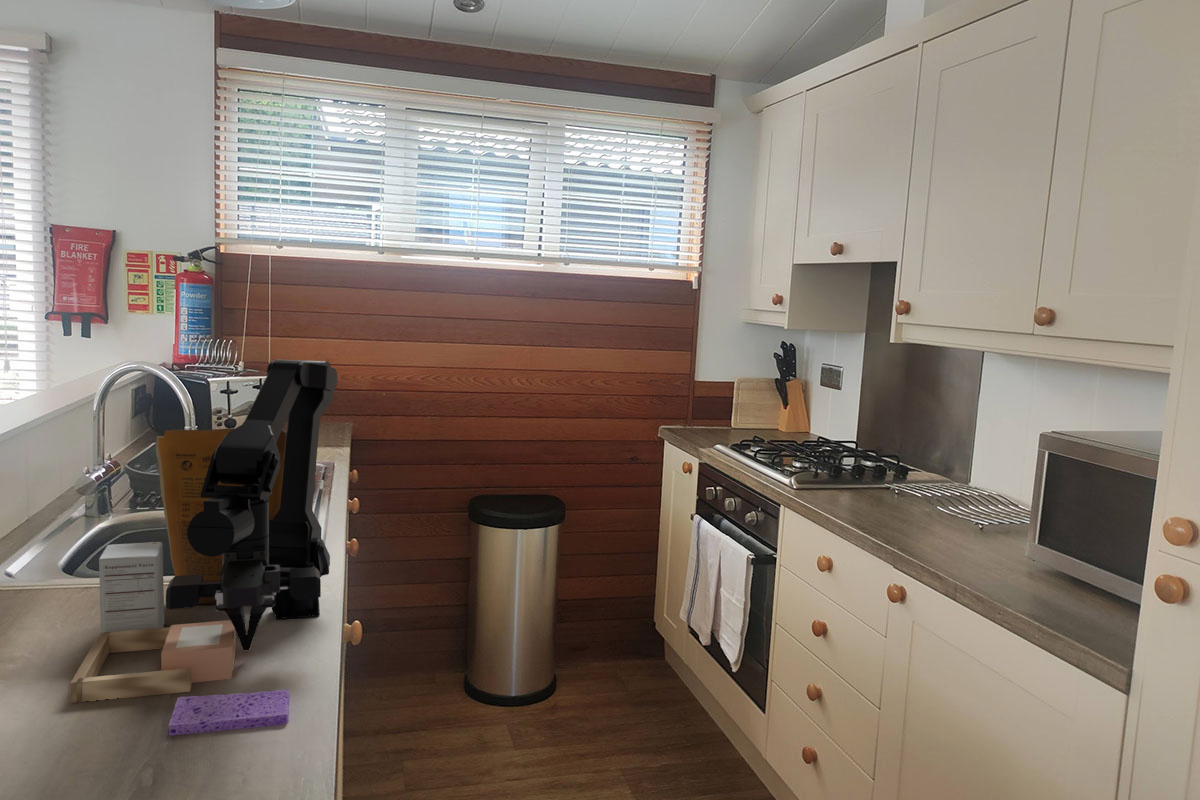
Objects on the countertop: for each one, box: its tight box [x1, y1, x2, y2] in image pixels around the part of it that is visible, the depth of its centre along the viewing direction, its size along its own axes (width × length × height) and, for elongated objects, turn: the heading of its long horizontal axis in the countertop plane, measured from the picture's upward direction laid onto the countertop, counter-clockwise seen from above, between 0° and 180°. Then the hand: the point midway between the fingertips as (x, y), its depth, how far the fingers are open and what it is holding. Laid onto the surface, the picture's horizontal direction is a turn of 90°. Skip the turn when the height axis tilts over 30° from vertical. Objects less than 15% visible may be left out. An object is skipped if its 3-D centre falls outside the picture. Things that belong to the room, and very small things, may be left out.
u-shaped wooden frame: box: [70, 626, 192, 704], centre depth 112 cm, size 13×16×2 cm
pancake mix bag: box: [155, 427, 287, 605], centre depth 137 cm, size 7×19×28 cm, turn 96°
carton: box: [160, 619, 237, 684], centre depth 114 cm, size 8×10×5 cm
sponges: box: [168, 688, 290, 736], centre depth 101 cm, size 7×13×2 cm, turn 107°
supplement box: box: [98, 541, 165, 633], centre depth 122 cm, size 7×7×13 cm
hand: (246, 649), depth 116 cm, fingers closed
